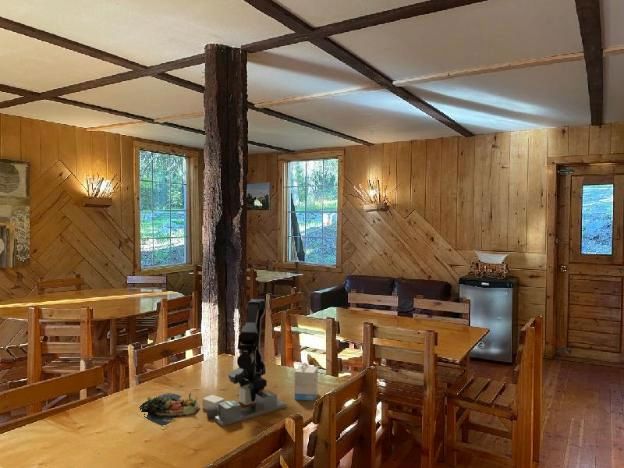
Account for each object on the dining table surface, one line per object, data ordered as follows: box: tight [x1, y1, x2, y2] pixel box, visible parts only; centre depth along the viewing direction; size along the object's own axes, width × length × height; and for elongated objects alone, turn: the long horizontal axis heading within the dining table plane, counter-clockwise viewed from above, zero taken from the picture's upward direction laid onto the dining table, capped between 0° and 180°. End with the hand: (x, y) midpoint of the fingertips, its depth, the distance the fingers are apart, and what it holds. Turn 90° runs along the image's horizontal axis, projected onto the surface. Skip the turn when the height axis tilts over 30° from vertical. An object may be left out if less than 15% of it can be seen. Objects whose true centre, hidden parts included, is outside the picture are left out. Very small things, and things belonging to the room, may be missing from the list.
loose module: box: [238, 385, 256, 406], centre depth 185 cm, size 5×6×6 cm
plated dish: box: [139, 392, 201, 427], centre depth 177 cm, size 35×28×7 cm
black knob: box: [206, 406, 218, 420], centre depth 171 cm, size 4×4×3 cm
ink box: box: [294, 361, 319, 402], centre depth 191 cm, size 9×8×13 cm
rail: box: [214, 389, 287, 427], centre depth 173 cm, size 6×28×6 cm, turn 128°
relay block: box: [202, 394, 225, 411], centre depth 178 cm, size 7×5×4 cm
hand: (248, 398), depth 185 cm, fingers open, 6 cm apart
